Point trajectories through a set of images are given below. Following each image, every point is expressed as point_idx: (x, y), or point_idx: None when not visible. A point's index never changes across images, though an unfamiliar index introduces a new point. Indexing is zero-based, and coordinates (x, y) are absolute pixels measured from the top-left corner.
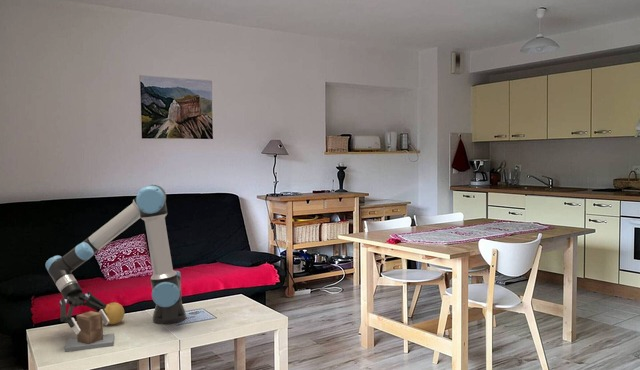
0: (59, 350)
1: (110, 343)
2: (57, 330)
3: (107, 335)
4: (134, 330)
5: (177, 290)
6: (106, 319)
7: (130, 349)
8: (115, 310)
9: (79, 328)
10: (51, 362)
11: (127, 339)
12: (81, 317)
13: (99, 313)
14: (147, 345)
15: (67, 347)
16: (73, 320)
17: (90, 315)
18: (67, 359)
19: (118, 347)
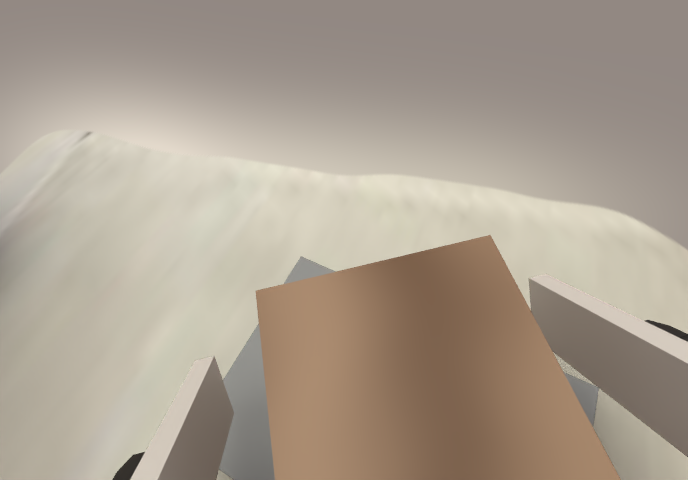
0: (624, 467)
1: (315, 264)
2: None
3: (245, 431)
4: (12, 475)
5: None
6: (206, 381)
7: (280, 166)
8: None
9: (547, 284)
10: (665, 262)
11: (189, 310)
12: (550, 366)
13: (286, 304)
14: (204, 161)
15: (577, 388)
16: (674, 338)
17: (422, 304)
18: (574, 244)
19: (300, 225)
